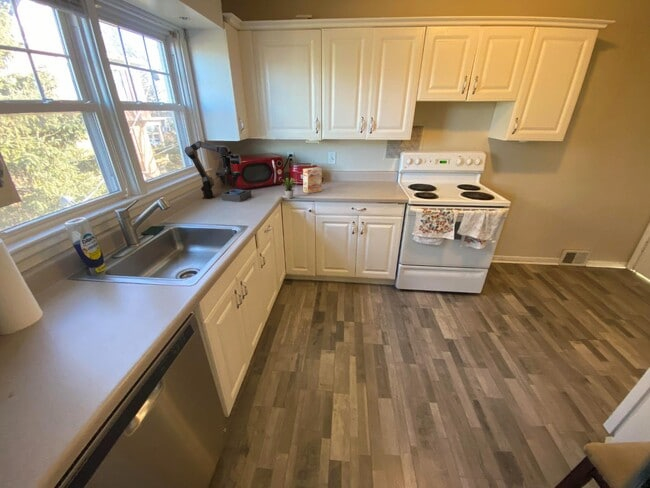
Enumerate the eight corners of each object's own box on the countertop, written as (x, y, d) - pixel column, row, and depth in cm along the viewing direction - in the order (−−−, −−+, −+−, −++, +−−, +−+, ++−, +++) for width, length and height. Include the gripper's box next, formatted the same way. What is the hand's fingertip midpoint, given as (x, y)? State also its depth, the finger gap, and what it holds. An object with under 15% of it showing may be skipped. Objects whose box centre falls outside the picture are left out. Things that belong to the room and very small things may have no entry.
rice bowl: (227, 198, 214) (226, 192, 212) (235, 195, 223) (234, 189, 221) (239, 199, 212) (238, 193, 210) (246, 196, 221) (245, 190, 219)
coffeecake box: (307, 193, 233) (307, 170, 224) (303, 192, 238) (302, 168, 229) (322, 191, 241) (322, 168, 233) (317, 189, 246) (317, 166, 238)
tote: (222, 199, 213) (221, 193, 211) (234, 194, 227) (233, 188, 224) (240, 201, 209) (239, 195, 207) (251, 196, 222) (250, 190, 220)
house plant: (294, 201, 212) (293, 179, 205) (277, 199, 215) (276, 178, 208) (300, 196, 224) (300, 176, 217) (285, 195, 228) (284, 175, 221)
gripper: (209, 164, 203) (212, 186, 210) (231, 166, 198) (234, 188, 205) (218, 162, 213) (221, 183, 219) (240, 164, 208) (242, 185, 214)
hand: (229, 184), depth 214 cm, fingers open, 9 cm apart
